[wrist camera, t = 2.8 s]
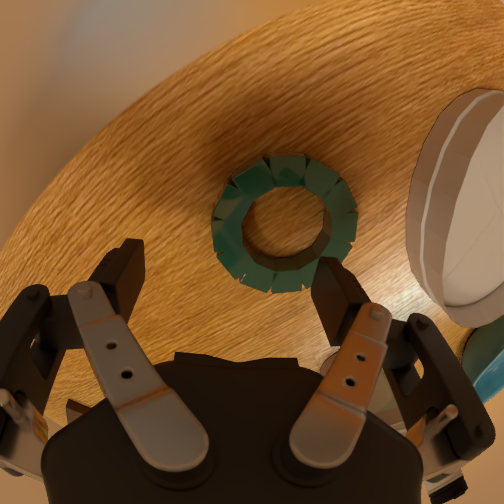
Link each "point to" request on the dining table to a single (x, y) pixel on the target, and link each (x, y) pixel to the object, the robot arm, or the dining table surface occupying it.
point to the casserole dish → (486, 359)
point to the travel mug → (446, 488)
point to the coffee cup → (379, 400)
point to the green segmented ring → (257, 184)
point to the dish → (461, 210)
